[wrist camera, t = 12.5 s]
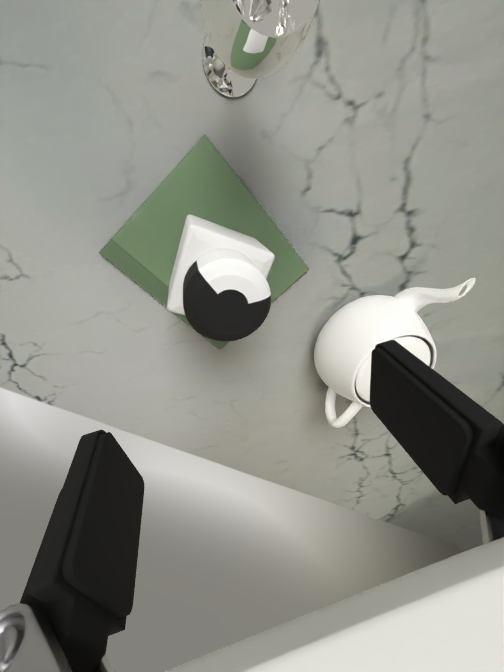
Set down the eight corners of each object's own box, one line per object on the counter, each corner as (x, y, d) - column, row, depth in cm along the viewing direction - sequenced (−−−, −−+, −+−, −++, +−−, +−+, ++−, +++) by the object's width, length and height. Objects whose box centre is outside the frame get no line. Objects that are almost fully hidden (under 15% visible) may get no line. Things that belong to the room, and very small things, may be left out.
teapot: (345, 404, 44) (388, 463, 35) (273, 380, 39) (302, 443, 30) (445, 280, 37) (533, 314, 28) (374, 228, 31) (454, 250, 22)
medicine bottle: (233, 301, 32) (259, 361, 21) (168, 283, 29) (162, 341, 19) (257, 238, 29) (298, 272, 19) (187, 212, 26) (191, 235, 16)
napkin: (99, 252, 27) (98, 253, 26) (204, 135, 24) (205, 134, 24) (219, 348, 34) (219, 350, 34) (308, 268, 32) (309, 269, 32)
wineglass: (241, 124, 24) (285, 86, 14) (179, 69, 22) (178, -26, 11) (281, 52, 22) (364, -53, 12) (218, -17, 20) (258, -219, 10)
